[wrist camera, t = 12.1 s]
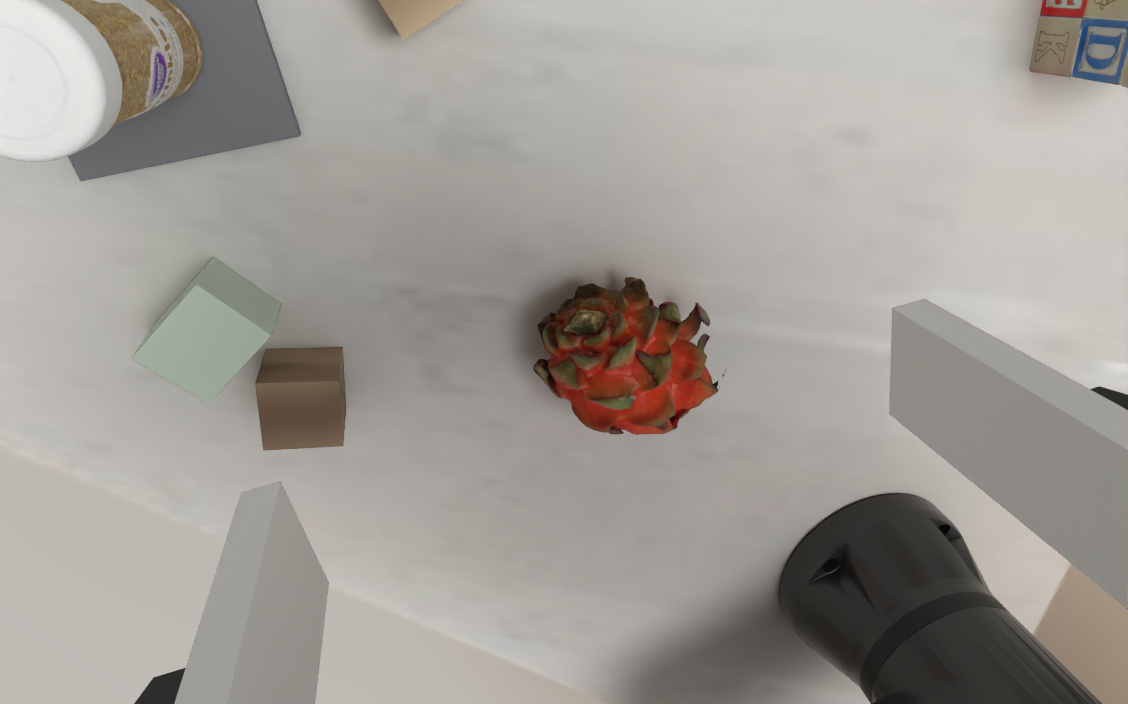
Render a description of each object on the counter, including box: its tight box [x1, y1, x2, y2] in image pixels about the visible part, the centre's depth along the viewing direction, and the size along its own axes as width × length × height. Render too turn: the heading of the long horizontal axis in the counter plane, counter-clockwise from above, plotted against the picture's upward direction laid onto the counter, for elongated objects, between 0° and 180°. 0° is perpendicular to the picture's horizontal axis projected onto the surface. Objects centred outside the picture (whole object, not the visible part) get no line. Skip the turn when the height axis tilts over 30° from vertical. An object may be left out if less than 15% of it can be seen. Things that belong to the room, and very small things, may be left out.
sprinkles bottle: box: [0, 0, 203, 162], centre depth 25 cm, size 5×5×14 cm
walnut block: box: [255, 347, 346, 450], centre depth 39 cm, size 4×4×4 cm
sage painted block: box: [131, 257, 281, 404], centre depth 36 cm, size 4×5×4 cm
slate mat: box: [68, 0, 301, 181], centre depth 31 cm, size 10×10×1 cm
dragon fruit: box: [533, 277, 726, 435], centre depth 41 cm, size 8×8×12 cm
